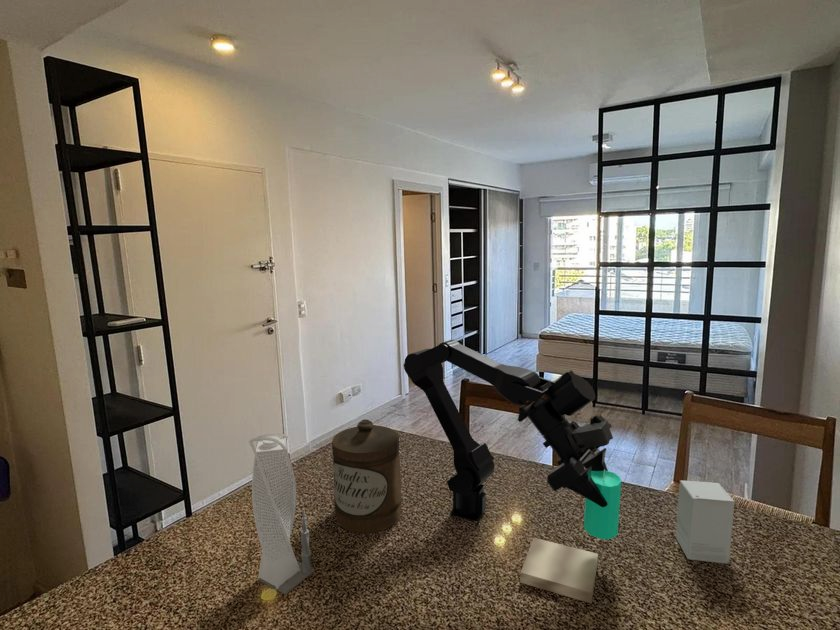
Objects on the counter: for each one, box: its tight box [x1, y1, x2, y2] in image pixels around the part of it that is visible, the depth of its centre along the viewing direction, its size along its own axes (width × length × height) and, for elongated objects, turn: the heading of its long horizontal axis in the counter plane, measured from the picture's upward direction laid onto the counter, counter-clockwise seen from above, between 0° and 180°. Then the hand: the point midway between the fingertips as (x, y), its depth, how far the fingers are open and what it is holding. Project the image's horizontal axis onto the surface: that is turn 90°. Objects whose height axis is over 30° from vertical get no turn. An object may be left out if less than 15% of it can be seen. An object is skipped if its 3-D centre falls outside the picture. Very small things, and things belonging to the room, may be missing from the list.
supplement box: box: [675, 480, 736, 565], centre depth 92 cm, size 7×7×13 cm
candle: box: [583, 469, 622, 540], centre depth 88 cm, size 6×6×12 cm
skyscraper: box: [248, 433, 315, 595], centre depth 85 cm, size 8×8×28 cm
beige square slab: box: [519, 537, 599, 604], centre depth 87 cm, size 12×11×2 cm
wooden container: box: [331, 419, 403, 534], centre depth 105 cm, size 15×15×22 cm
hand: (610, 499), depth 87 cm, fingers closed on candle, 5 cm apart
